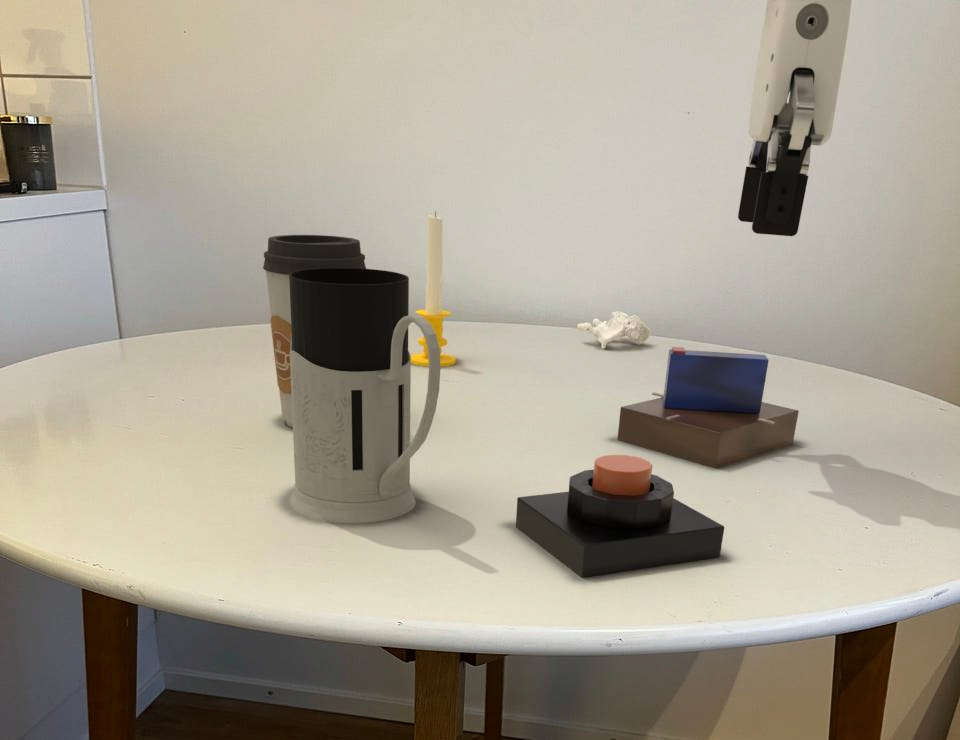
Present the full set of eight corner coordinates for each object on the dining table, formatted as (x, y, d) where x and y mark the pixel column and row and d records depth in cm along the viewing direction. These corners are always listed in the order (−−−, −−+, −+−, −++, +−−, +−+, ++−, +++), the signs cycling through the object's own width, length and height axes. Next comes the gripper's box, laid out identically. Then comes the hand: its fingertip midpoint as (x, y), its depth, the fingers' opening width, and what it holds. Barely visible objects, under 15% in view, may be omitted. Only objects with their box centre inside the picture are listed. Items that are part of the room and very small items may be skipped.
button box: (642, 512, 71) (649, 457, 69) (719, 559, 64) (729, 498, 62) (515, 528, 67) (518, 470, 66) (581, 580, 60) (587, 516, 58)
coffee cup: (253, 419, 89) (242, 235, 82) (334, 407, 94) (330, 232, 87) (303, 442, 83) (296, 247, 76) (386, 427, 88) (386, 243, 81)
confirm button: (629, 478, 66) (632, 452, 65) (660, 495, 63) (663, 468, 63) (581, 484, 65) (584, 457, 64) (610, 501, 62) (613, 474, 61)
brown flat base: (688, 417, 96) (693, 383, 94) (804, 447, 88) (811, 411, 87) (606, 438, 88) (609, 402, 86) (725, 473, 80) (731, 434, 79)
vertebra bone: (621, 307, 129) (660, 310, 124) (620, 342, 130) (657, 346, 125) (574, 310, 124) (612, 314, 119) (573, 346, 126) (610, 351, 121)
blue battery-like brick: (756, 408, 87) (765, 351, 85) (759, 413, 85) (769, 356, 83) (662, 402, 88) (669, 346, 86) (664, 407, 86) (671, 350, 84)
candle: (456, 358, 115) (461, 210, 108) (454, 368, 110) (459, 213, 103) (410, 356, 115) (412, 207, 108) (406, 366, 110) (408, 211, 103)
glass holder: (374, 475, 76) (372, 264, 69) (488, 534, 66) (499, 294, 59) (267, 494, 71) (254, 269, 65) (372, 561, 61) (370, 303, 55)
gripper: (899, -55, 62) (836, 244, 70) (843, -20, 77) (797, 222, 85) (774, -62, 62) (726, 235, 70) (744, -26, 78) (707, 215, 86)
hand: (765, 228), depth 78 cm, fingers open, 9 cm apart
